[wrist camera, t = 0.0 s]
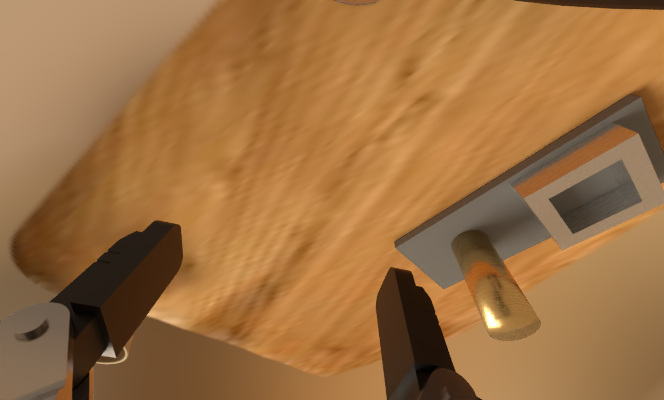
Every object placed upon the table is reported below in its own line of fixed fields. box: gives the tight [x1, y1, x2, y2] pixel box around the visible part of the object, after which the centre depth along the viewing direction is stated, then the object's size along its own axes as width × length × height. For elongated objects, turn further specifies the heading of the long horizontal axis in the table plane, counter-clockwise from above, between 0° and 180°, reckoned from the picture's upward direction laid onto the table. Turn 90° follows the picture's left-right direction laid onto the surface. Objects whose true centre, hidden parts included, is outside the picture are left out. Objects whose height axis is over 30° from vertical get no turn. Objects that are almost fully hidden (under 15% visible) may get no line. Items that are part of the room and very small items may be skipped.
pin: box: [451, 230, 541, 341], centre depth 27 cm, size 4×4×10 cm
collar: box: [510, 123, 664, 250], centre depth 25 cm, size 9×9×2 cm
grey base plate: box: [394, 94, 664, 289], centre depth 29 cm, size 24×10×1 cm, turn 135°
